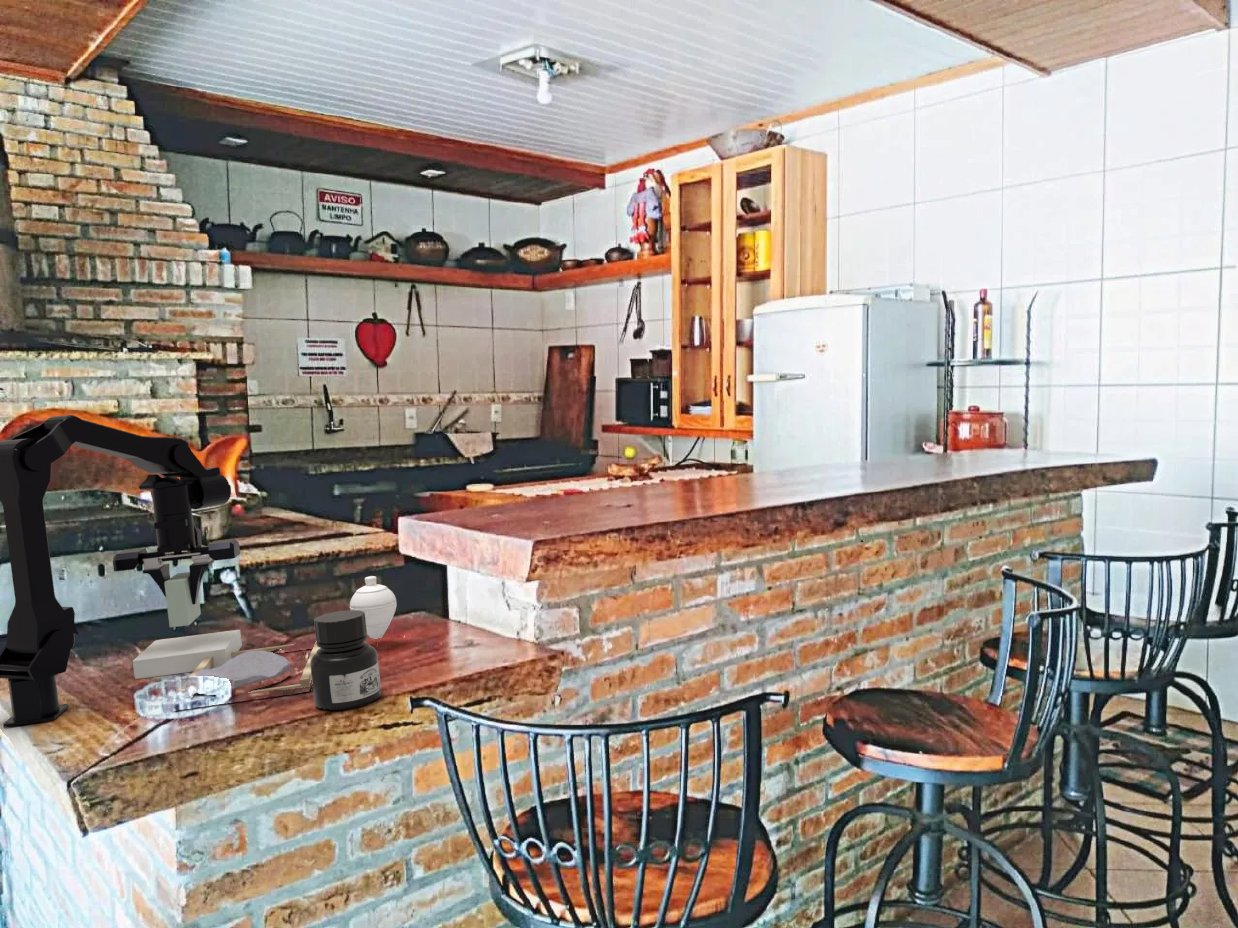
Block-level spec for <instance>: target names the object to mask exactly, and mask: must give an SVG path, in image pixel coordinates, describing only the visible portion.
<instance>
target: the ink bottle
mask: <svg viewBox="0 0 1238 928" xmlns="http://www.w3.org/2000/svg"><path fill="white" fill-rule="evenodd" d="M313 622H314V623H313V624H314V630H315V631H314V633H315V641H316V642H317V643H316V644H317V646H318V647H320V649H318V650H317V652H316V654H315V655H314V656H313V657H312V659H311V662H310V666H311V675H312V684H313V686H312V691H313V699H314V700H313V701H314V702H313V703H314V704H315V706H316V707H317V708H318V707H319V709H321V708H323V709H322V710H326V709H329V710H330V711H343V710H344V711H345V710H350V709H355V708H358V707H363V706H364V705H367V704H370V703H372V702H374V701H376V700H378V698H380V697H381V695H382V686H381V675H380V667H379V658H378V657H379V656H378V651H377V649H375V647H374V646H373V645H370V644H369V642H367V640H368V635H367V629H366V619H365V613H364V611H360V610H350V609H349V610H340V611H333V612H329V613H324V614H322V615H318V616H317V617H315V618H314V619H313Z"/></svg>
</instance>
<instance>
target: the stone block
mask: <svg viewBox="0 0 1238 928" xmlns="http://www.w3.org/2000/svg"><path fill="white" fill-rule="evenodd" d="M290 670H291V671H292V668H291V666H290V662H289V660H288V659H287V658H286V657H284V656H281V654H275V653H273V652H266V651H249V652H246V653H242V654H240V655H238V656H236V657H235V658H232V659H229V660H228V661H227V662H226V663H225V664H223V665H222V666H220V667H217V668H213V669H202V670H200V671H199V672H198V673H197V674H196V676H214V677H219V678H227V679H229V681H230V683H231V686H232V688H233V689H234V688H238V687H241V686H244V685H248V684H251V683H256V682H260V681H262V680H266V679H269V678H275V677H277V676H279V675H281V674H283V673H285V672H287V671H290Z"/></svg>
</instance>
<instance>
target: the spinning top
mask: <svg viewBox="0 0 1238 928" xmlns="http://www.w3.org/2000/svg"><path fill="white" fill-rule="evenodd" d="M364 583H365V585H363V586H362V587H360V588H358V589H356V590H355V592H354V594H353V595H352V597H351V599H350V601H349V610H360V611H364V613H365V619H366V629H367V637H369V638H373V639H378V638H381V639H382V637H383V636H384V634H385V633H386V631H387V630H388V628H389V627H390V624H391V623H392V622H391V621H392V620H393V618H394V616H395V613H396V610H397V598H396V595H395V594H394V592H393V591H392V590H391V589H389V587H388V586H386V585H383V584H379V583H377V576H374V575H370V576H366V577H365V578H364ZM373 639H372V640H373Z"/></svg>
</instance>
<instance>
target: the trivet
mask: <svg viewBox="0 0 1238 928" xmlns="http://www.w3.org/2000/svg"><path fill="white" fill-rule="evenodd" d="M242 646H243V642H242V635H241V629H235V630H234V629H233V630H227V631H217V632H210V633H203V634H202V633H201V634H195V635H187V636H179V637H172V638H164V639H163V638H162V639H155V640H154V641H153V642H152V643H151V644H150V645H148V647H146V648H145V649H144V650H143V651H142V652H141V653H140V654H139V655H138V656H137V657H135V658H134V659H133V660H132V667H133V675H134V680H140V679H146V678H147V679H149V678H154V677H163V676H168V675H169V676H170V675H178V674H185V673H191V672H192V673H193V672H194V670H195V669H196V668H197V667H198V666H199V664H200V663H201V662H202V661H203V660H204V658H207V657H213V662H214V668H217V667H220V666H222V665H223V664H225V663H226V662H227V661H228V660H229V659H232V656H231V653H232V652H236V651H241V650H240V649H241V648H242Z"/></svg>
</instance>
